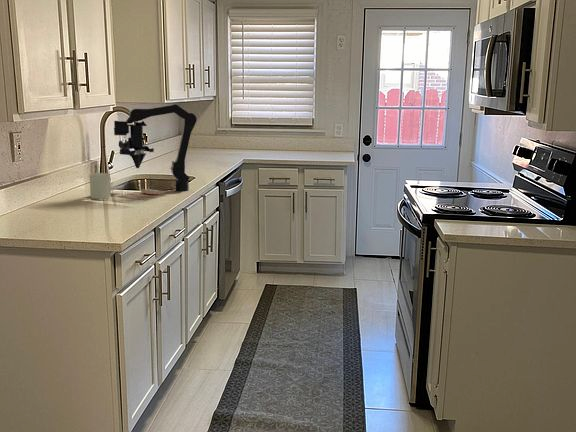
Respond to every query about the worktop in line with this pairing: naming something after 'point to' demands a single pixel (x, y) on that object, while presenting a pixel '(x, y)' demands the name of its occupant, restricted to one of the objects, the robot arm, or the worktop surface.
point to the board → (141, 196)
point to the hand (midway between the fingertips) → (137, 168)
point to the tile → (152, 191)
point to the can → (100, 186)
